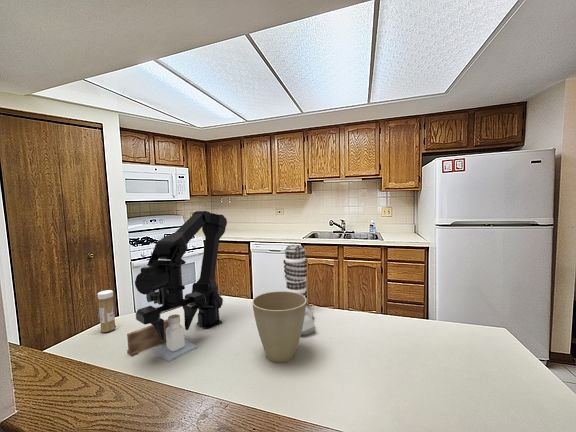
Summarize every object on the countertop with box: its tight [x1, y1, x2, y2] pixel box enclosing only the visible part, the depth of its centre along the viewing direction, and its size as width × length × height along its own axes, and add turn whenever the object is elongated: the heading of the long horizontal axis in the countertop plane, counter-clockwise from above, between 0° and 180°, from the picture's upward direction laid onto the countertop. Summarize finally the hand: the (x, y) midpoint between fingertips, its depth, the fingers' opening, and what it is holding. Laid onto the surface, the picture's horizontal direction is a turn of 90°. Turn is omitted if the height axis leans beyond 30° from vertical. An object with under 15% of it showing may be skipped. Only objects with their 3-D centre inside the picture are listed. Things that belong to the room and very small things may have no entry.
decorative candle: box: [283, 244, 308, 307], centre depth 111 cm, size 9×9×25 cm
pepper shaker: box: [165, 314, 185, 352], centre depth 83 cm, size 4×4×10 cm
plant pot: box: [251, 290, 308, 363], centre depth 78 cm, size 15×15×16 cm
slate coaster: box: [152, 338, 198, 363], centre depth 84 cm, size 9×9×1 cm
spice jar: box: [97, 289, 117, 333], centre depth 98 cm, size 5×5×13 cm
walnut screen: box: [126, 318, 169, 357], centre depth 87 cm, size 14×3×6 cm, turn 140°
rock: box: [301, 306, 316, 336], centre depth 97 cm, size 18×20×10 cm
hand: (174, 334), depth 83 cm, fingers open, 7 cm apart
